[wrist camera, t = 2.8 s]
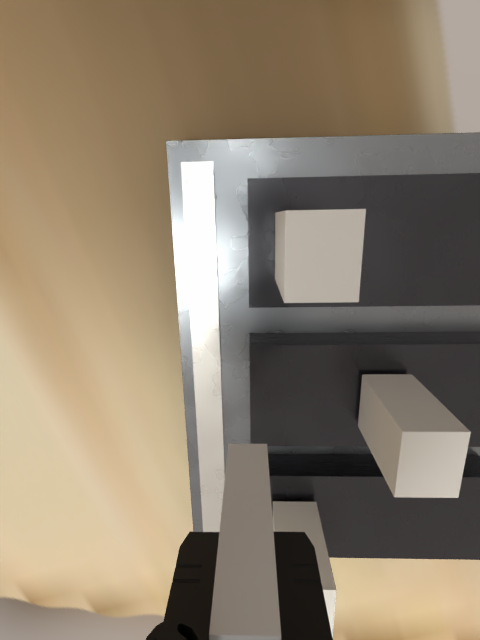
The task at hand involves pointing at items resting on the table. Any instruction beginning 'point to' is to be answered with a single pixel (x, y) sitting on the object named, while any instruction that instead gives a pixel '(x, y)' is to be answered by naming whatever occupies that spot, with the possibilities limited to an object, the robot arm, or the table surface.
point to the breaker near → (319, 255)
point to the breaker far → (308, 521)
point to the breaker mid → (412, 437)
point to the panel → (329, 325)
